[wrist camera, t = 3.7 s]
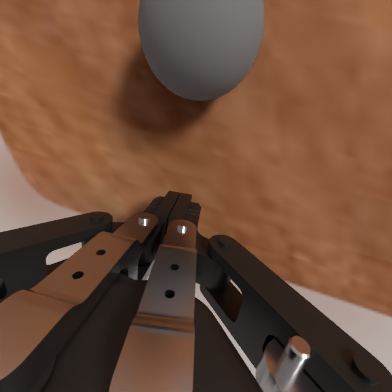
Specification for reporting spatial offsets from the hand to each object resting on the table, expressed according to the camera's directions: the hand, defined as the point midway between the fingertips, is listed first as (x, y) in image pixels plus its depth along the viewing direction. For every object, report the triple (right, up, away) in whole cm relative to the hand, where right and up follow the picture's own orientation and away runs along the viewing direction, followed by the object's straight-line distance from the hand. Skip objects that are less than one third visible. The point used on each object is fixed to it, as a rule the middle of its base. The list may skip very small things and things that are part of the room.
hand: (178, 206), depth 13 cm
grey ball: (+1, +8, -4) cm, 9 cm away
